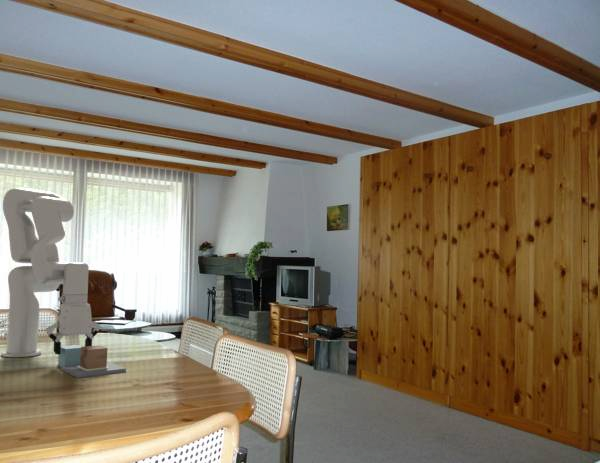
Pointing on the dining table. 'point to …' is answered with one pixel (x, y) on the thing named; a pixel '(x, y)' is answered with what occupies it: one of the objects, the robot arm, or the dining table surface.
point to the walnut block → (93, 357)
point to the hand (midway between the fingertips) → (72, 352)
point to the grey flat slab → (92, 370)
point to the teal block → (69, 355)
